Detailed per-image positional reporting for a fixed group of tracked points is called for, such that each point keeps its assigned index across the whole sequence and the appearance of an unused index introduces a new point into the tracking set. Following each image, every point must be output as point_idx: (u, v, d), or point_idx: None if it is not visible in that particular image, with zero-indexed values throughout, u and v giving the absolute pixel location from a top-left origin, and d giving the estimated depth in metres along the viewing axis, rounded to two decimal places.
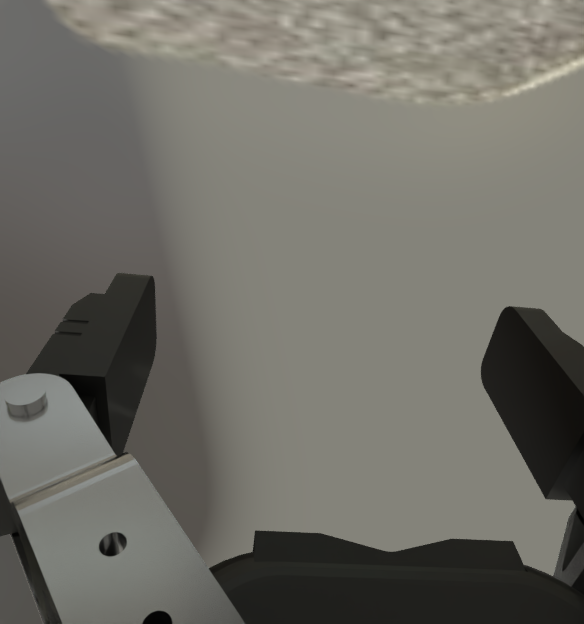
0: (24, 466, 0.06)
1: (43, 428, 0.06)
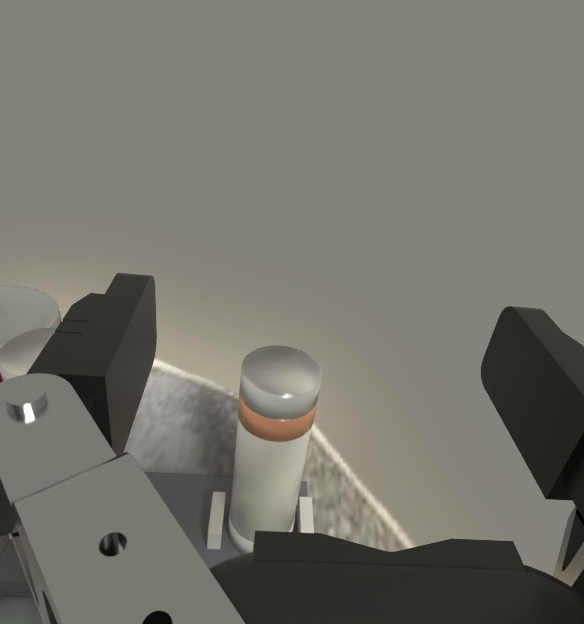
0: (24, 466, 0.06)
1: (43, 428, 0.06)
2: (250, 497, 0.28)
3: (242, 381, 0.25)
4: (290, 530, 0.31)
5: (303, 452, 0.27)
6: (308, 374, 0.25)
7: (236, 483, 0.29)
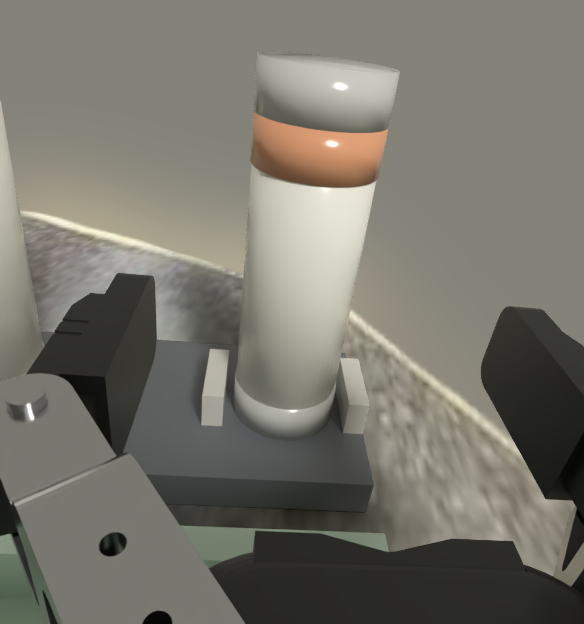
0: (24, 466, 0.06)
1: (42, 428, 0.06)
2: (271, 317, 0.17)
3: (260, 72, 0.14)
4: (331, 395, 0.20)
5: (361, 232, 0.16)
6: (375, 68, 0.14)
7: (247, 302, 0.17)
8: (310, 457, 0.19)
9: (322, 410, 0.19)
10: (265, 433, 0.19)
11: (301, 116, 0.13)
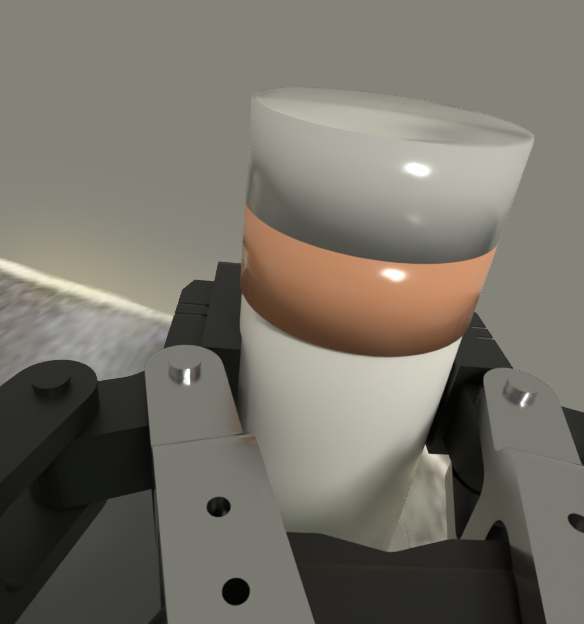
0: (204, 419, 0.07)
1: (190, 393, 0.07)
2: None
3: (256, 137, 0.07)
4: None
5: (437, 404, 0.09)
6: (481, 124, 0.07)
7: None
8: None
9: None
10: None
11: (342, 233, 0.06)
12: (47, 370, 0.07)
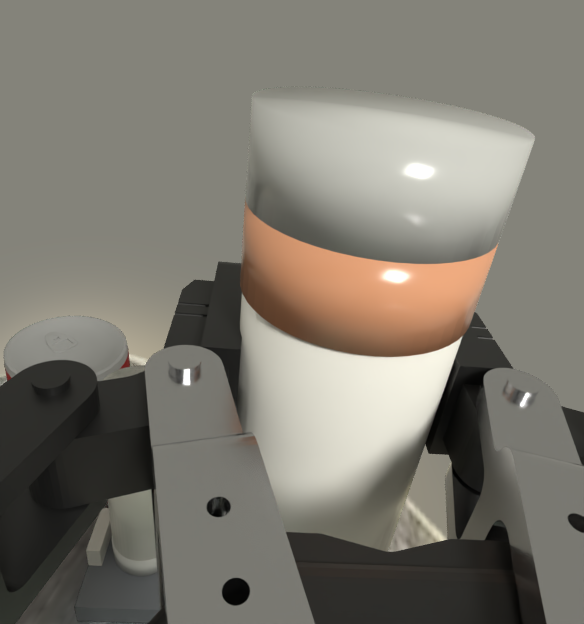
0: (204, 420, 0.07)
1: (190, 393, 0.07)
2: None
3: (256, 137, 0.07)
4: None
5: (437, 404, 0.09)
6: (481, 124, 0.07)
7: None
8: None
9: None
10: None
11: (342, 233, 0.06)
12: (47, 370, 0.07)
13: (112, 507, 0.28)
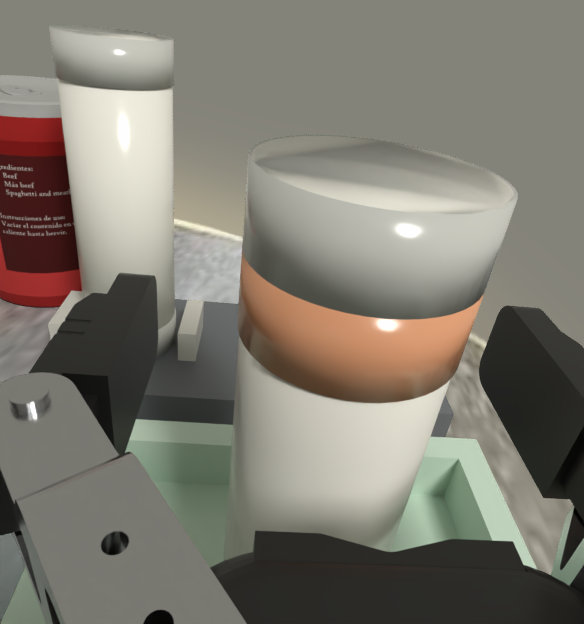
0: (28, 464, 0.06)
1: (45, 426, 0.06)
2: None
3: (252, 195, 0.07)
4: None
5: (428, 440, 0.09)
6: (468, 180, 0.08)
7: (235, 526, 0.11)
8: None
9: None
10: None
11: (333, 291, 0.07)
12: None
13: (81, 241, 0.20)
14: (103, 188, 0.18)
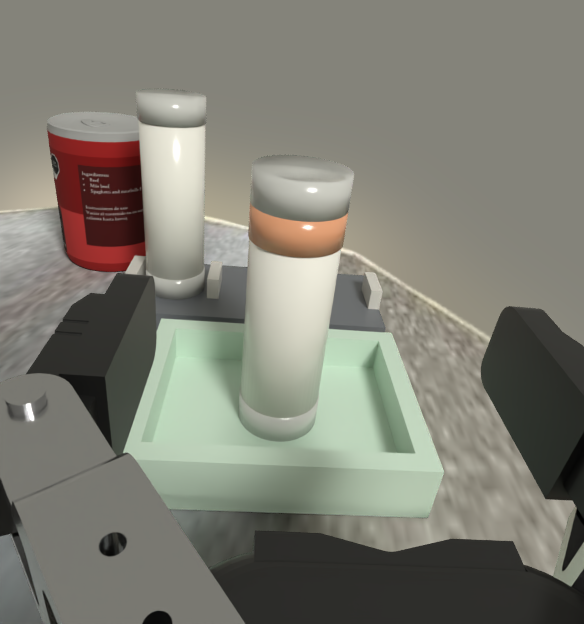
0: (24, 466, 0.06)
1: (43, 428, 0.06)
2: (266, 349, 0.22)
3: (254, 179, 0.20)
4: (314, 406, 0.25)
5: (331, 285, 0.22)
6: (336, 172, 0.20)
7: (248, 337, 0.23)
8: (351, 317, 0.35)
9: (307, 418, 0.25)
10: (263, 436, 0.25)
11: (283, 211, 0.19)
12: None
13: (149, 218, 0.33)
14: (164, 185, 0.31)
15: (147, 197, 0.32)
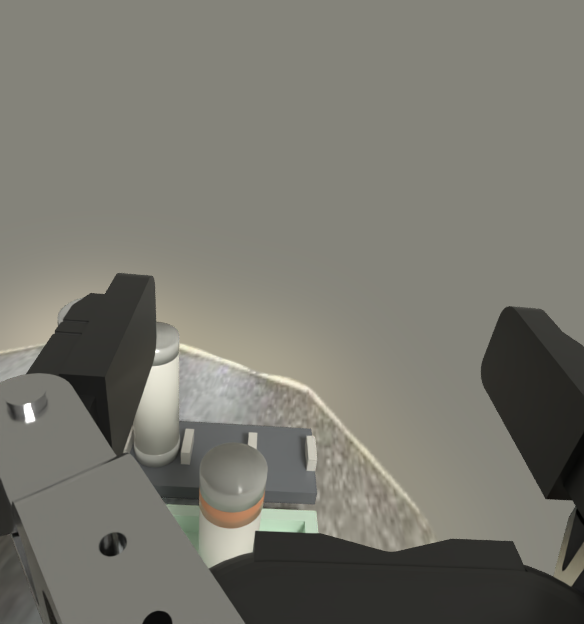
0: (24, 466, 0.06)
1: (42, 428, 0.06)
2: None
3: (200, 479, 0.30)
4: None
5: None
6: (255, 471, 0.30)
7: (200, 556, 0.34)
8: (292, 481, 0.46)
9: None
10: None
11: (218, 506, 0.30)
12: None
13: (135, 415, 0.43)
14: (147, 399, 0.41)
15: None
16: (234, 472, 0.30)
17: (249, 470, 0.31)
